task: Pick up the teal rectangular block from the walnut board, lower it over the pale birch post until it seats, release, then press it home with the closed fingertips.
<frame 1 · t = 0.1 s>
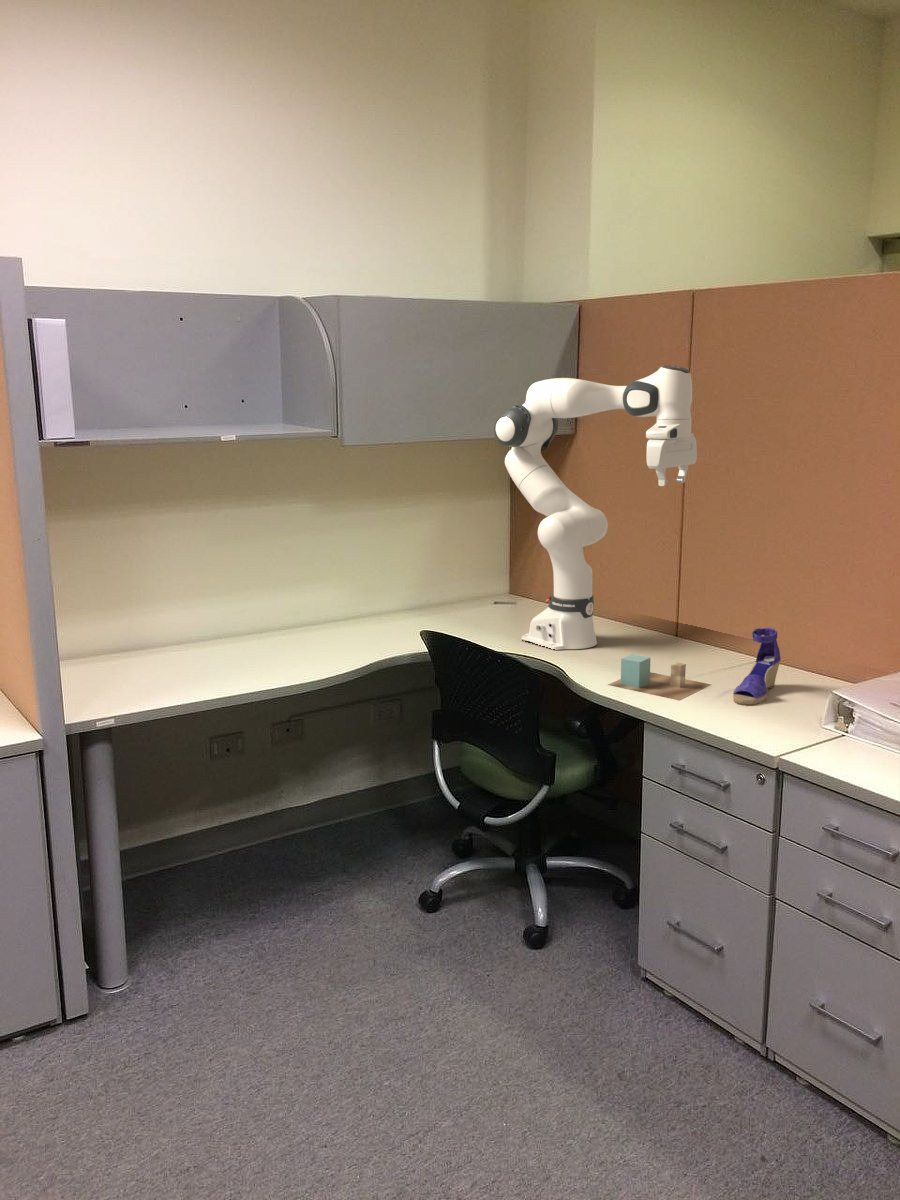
hand: (671, 484, 261), 48 cm above the table, fingers open, 8 cm apart
board: (659, 687, 248), on the table
teal rectangular block: (635, 683, 249), point 1 cm above the table, touching board
sandal: (757, 695, 242), on the table
post: (677, 688, 247), resting on board
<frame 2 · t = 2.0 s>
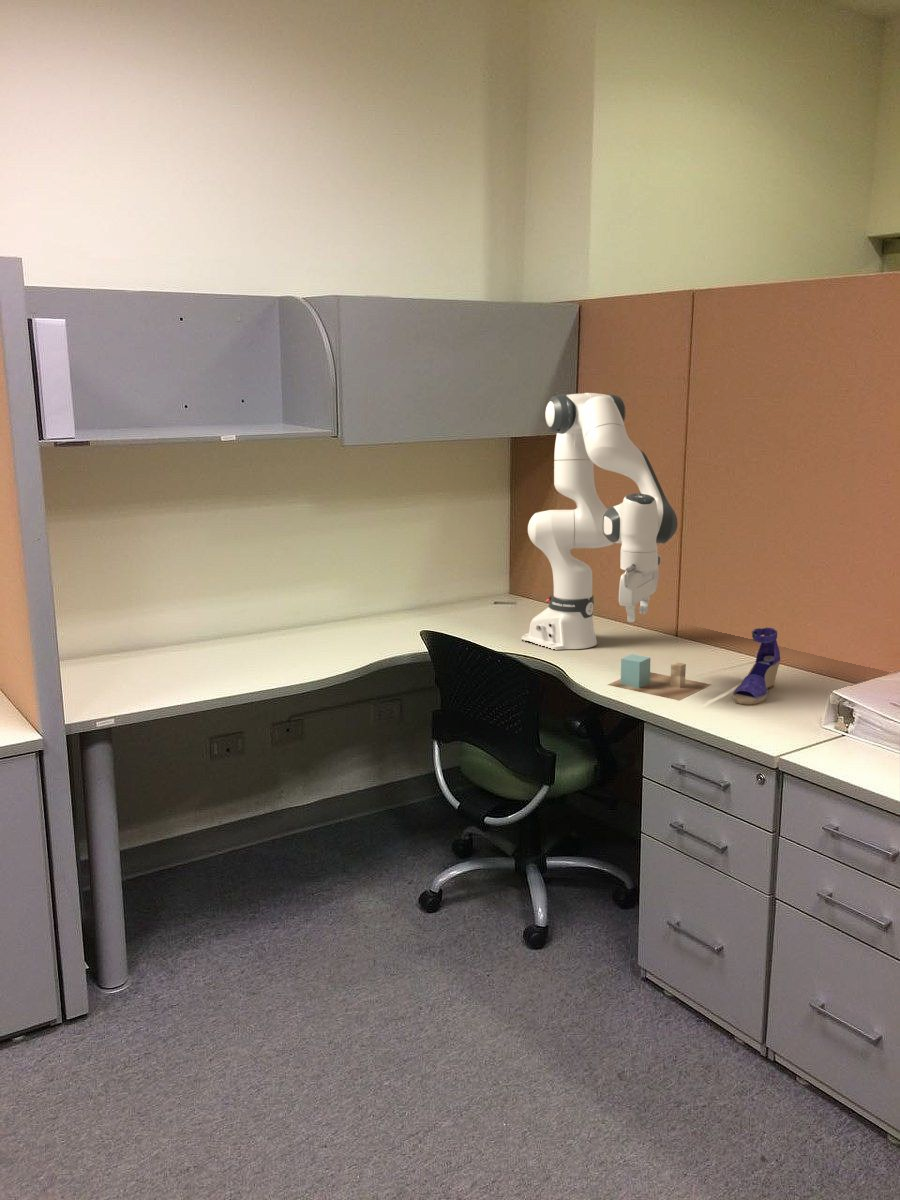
hand: (637, 617, 245), 18 cm above the table, fingers open, 8 cm apart
nothing on the table moved.
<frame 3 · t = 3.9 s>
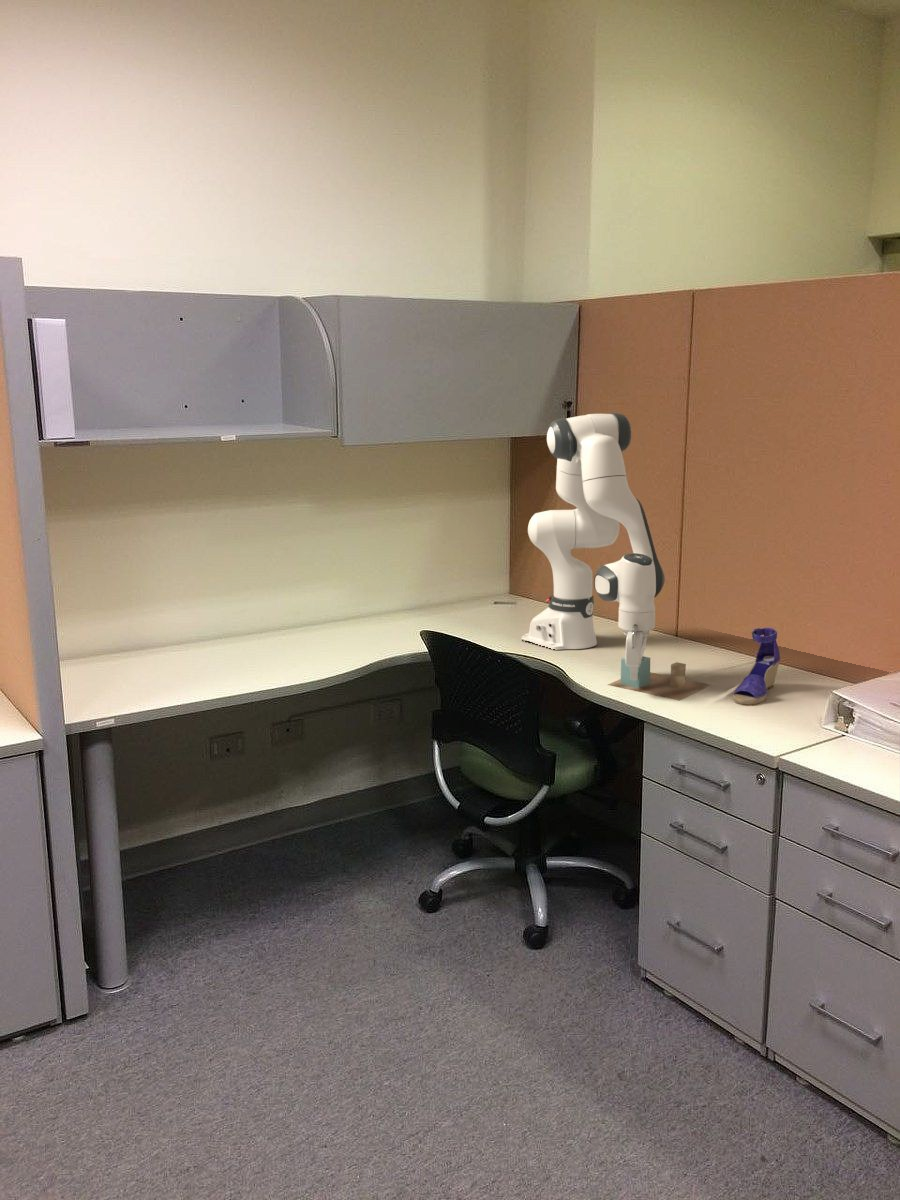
hand: (635, 674, 248), 3 cm above the table, fingers closed on teal rectangular block, 7 cm apart
teal rectangular block: (635, 683, 249), point 1 cm above the table, touching board, gripper
everything else where it was.
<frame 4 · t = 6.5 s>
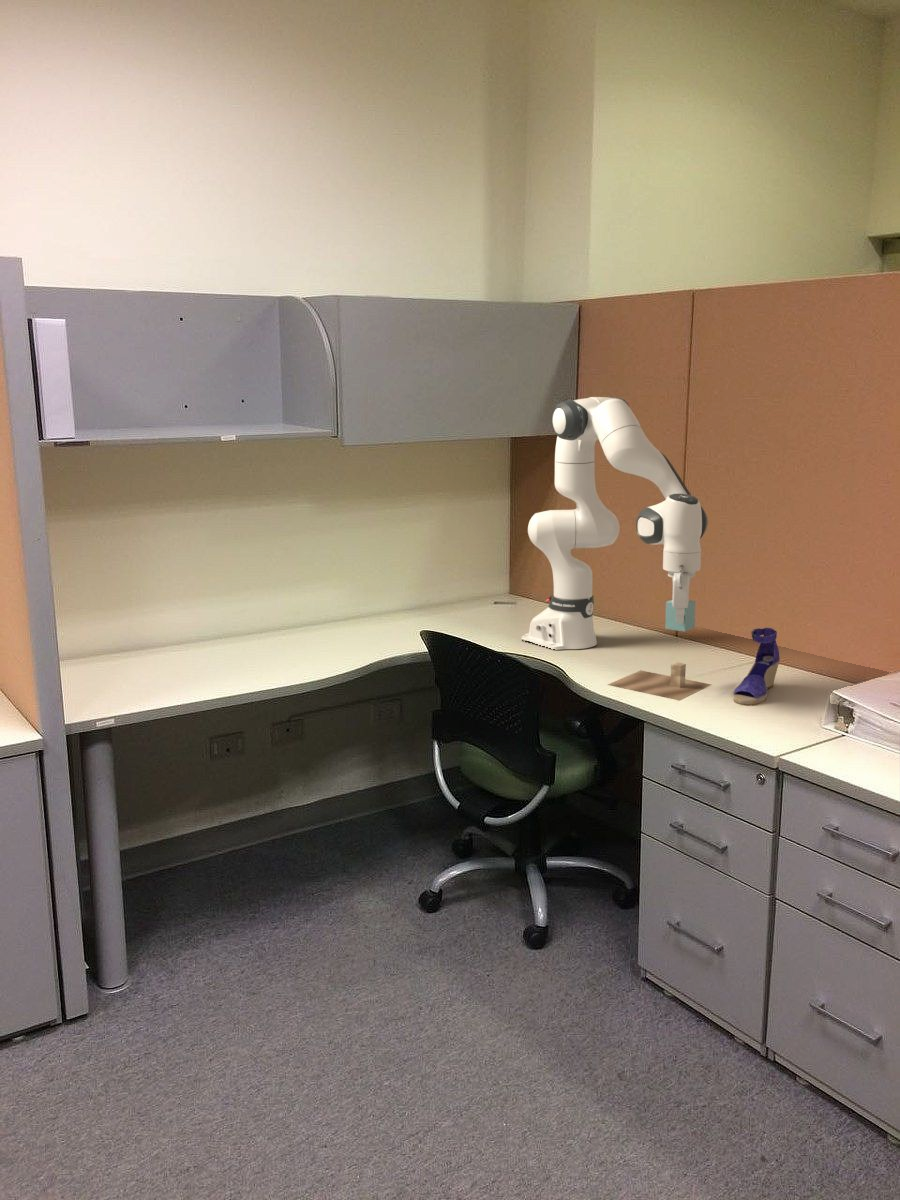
hand: (679, 618, 243), 18 cm above the table, fingers closed on teal rectangular block, 7 cm apart
teal rectangular block: (679, 628, 243), point 16 cm above the table, touching gripper
everything else where it was.
when the fingers open (5 cm above the table, at t = 9.0 s): teal rectangular block drops 2 cm, resting on board.
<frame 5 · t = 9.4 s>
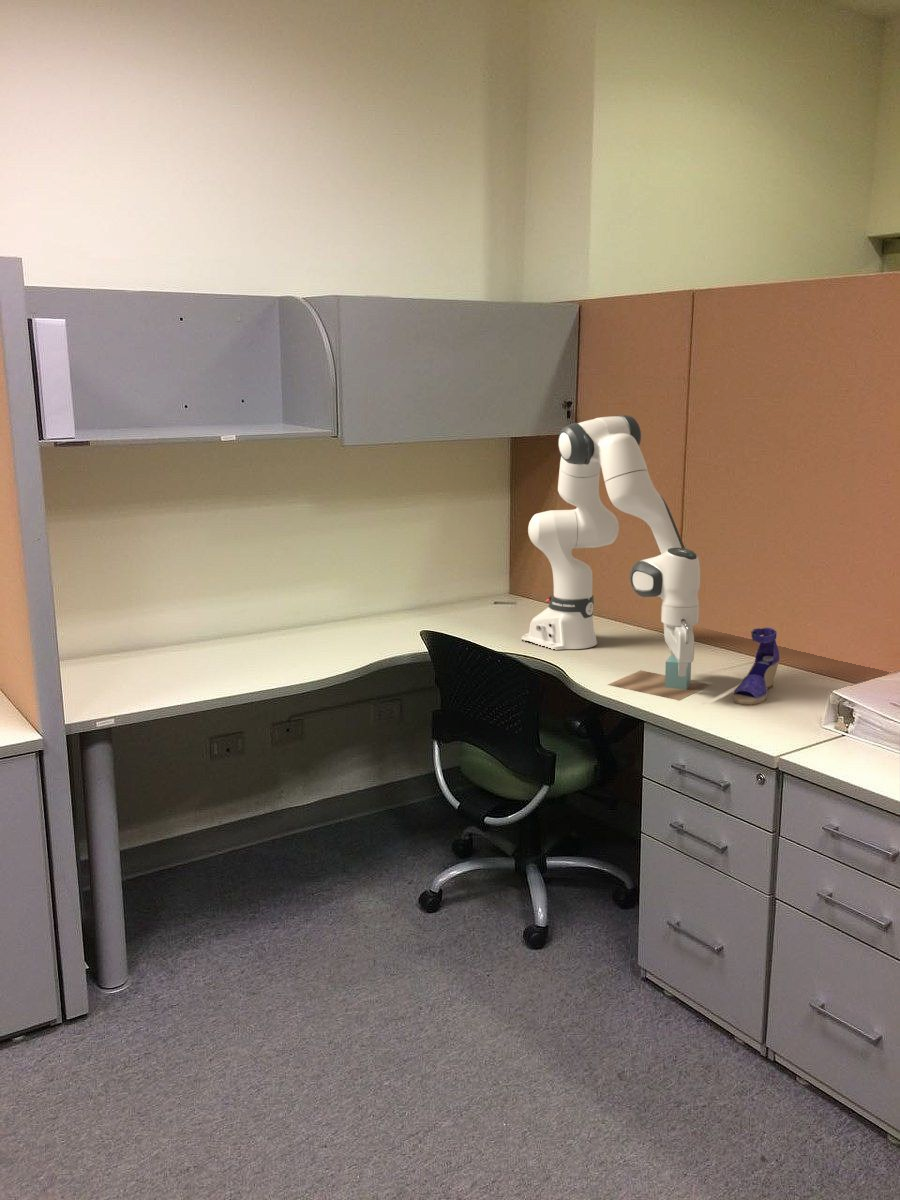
hand: (678, 670, 246), 5 cm above the table, fingers open, 8 cm apart
teal rectangular block: (677, 685, 247), point 1 cm above the table, touching board
everything else where it was.
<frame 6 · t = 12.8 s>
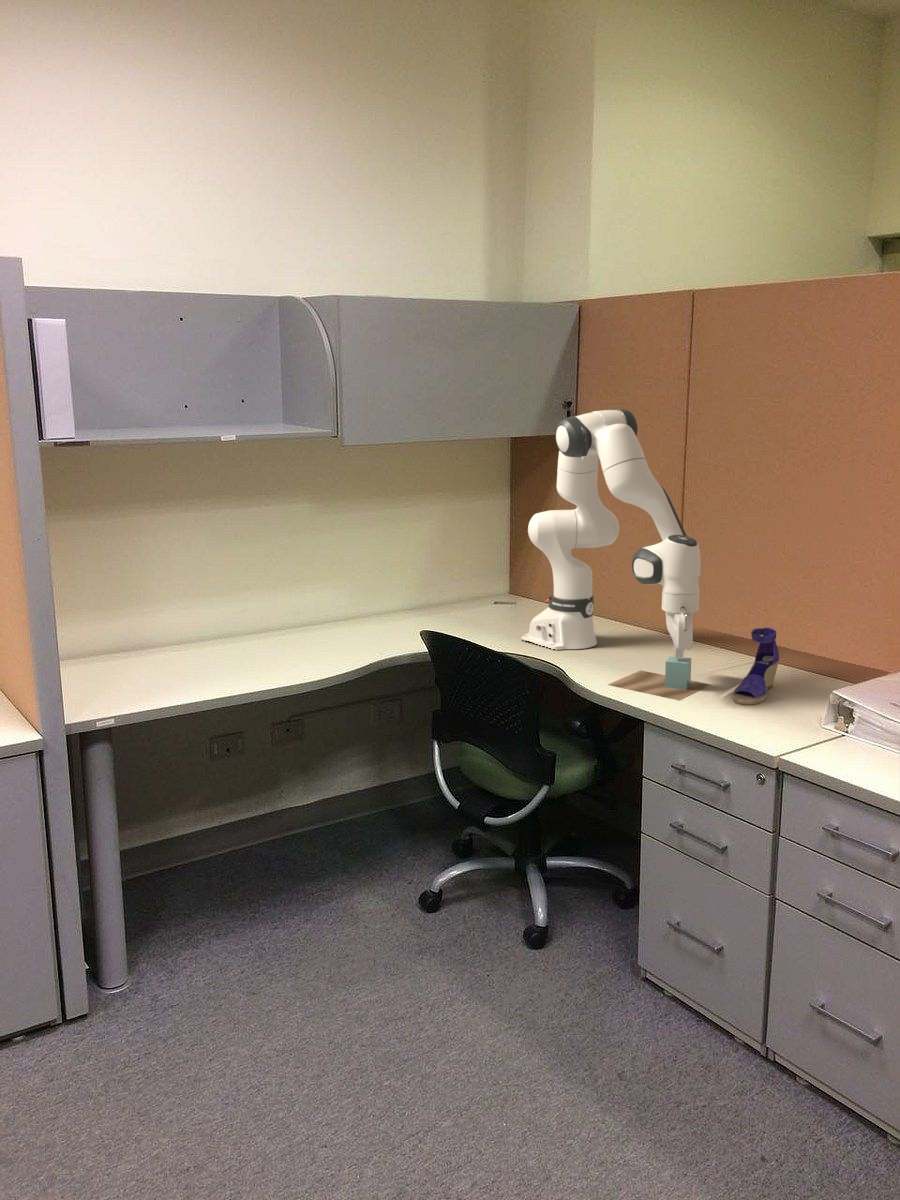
hand: (678, 657, 245), 8 cm above the table, fingers closed
nothing on the table moved.
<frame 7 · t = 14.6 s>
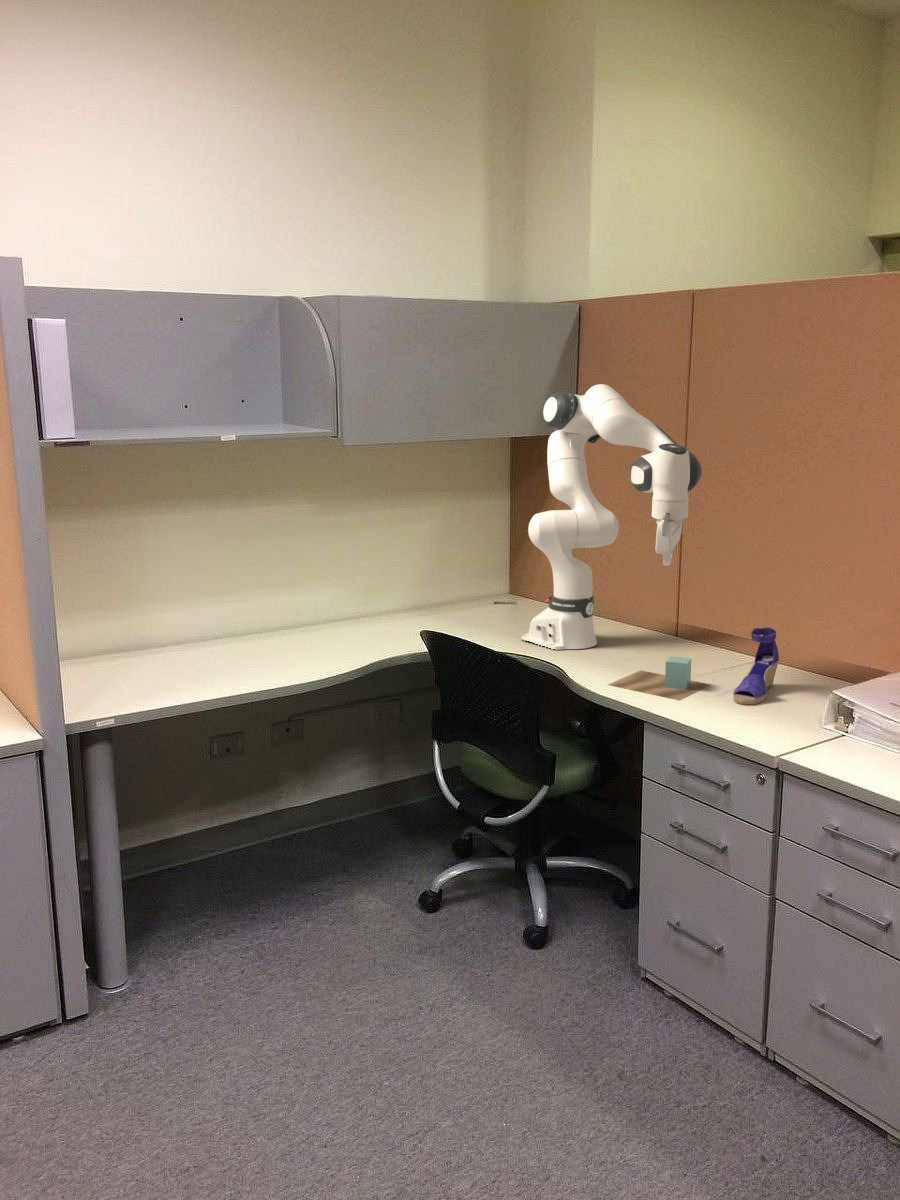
hand: (667, 564, 253), 29 cm above the table, fingers closed
nothing on the table moved.
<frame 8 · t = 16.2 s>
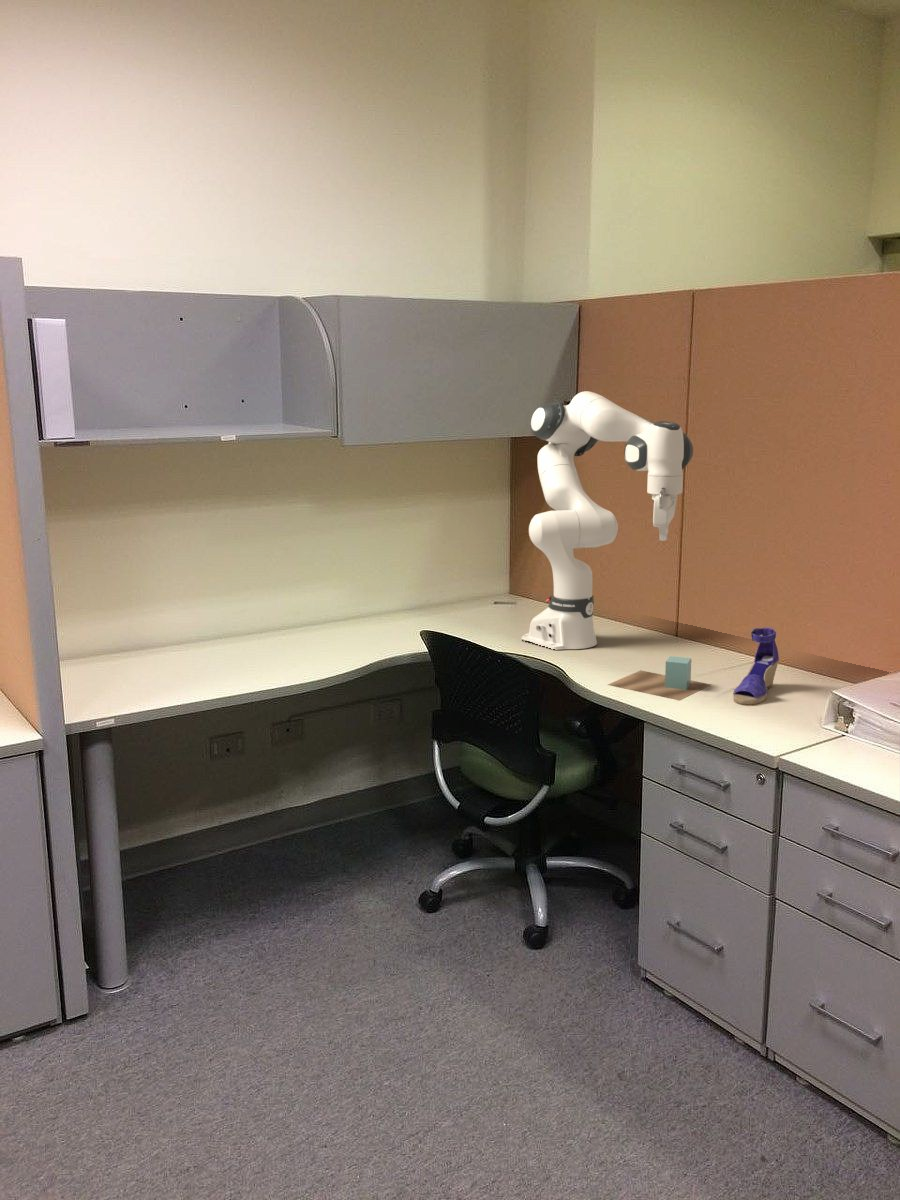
hand: (663, 540, 258), 34 cm above the table, fingers closed
nothing on the table moved.
at the end: teal rectangular block 0.1 cm from the post (horizontally); teal rectangular block point 0.8 cm above the table; the gripper is holding nothing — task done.
